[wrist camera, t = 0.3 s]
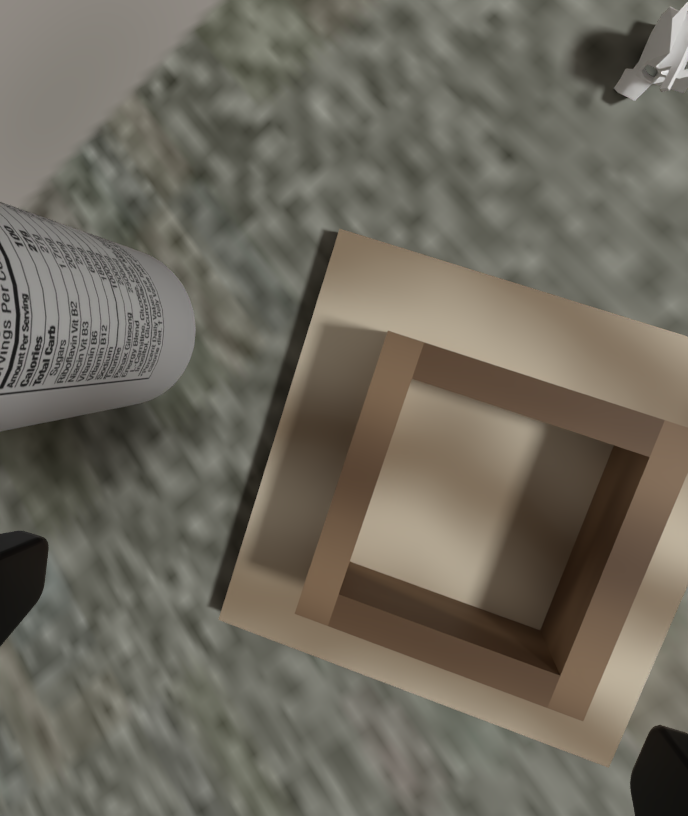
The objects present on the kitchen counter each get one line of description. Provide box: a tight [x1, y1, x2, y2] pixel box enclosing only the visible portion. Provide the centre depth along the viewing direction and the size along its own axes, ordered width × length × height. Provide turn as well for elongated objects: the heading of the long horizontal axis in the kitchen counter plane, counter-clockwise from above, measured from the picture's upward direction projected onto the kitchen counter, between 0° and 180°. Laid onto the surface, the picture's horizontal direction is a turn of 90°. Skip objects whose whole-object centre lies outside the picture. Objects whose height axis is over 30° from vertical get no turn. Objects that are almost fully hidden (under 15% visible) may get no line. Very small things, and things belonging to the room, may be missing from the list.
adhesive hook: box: [614, 2, 688, 101], centre depth 19 cm, size 3×3×3 cm
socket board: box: [219, 229, 688, 768], centre depth 20 cm, size 16×16×4 cm
